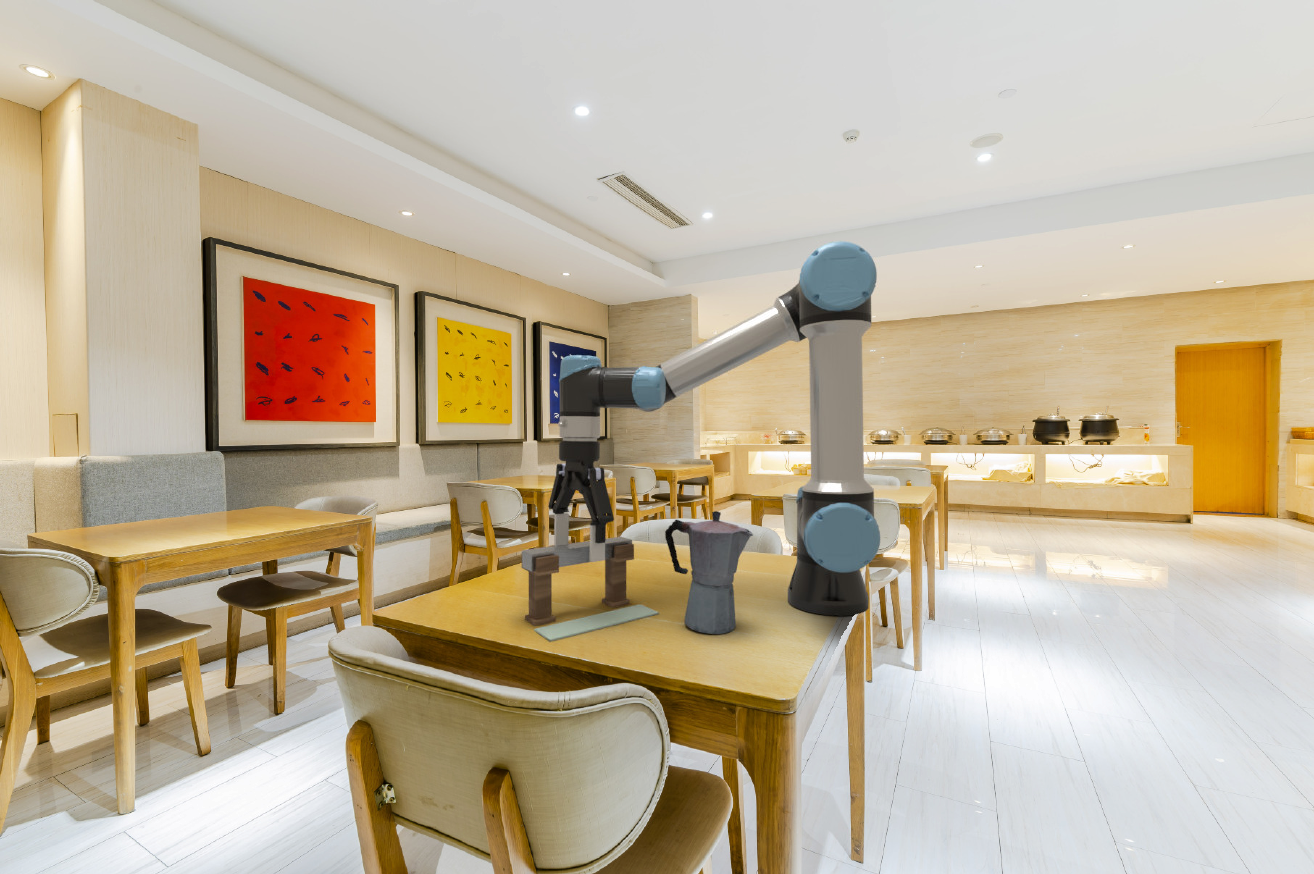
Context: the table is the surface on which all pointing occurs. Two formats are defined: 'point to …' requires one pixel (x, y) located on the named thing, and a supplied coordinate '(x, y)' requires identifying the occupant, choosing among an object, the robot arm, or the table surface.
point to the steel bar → (570, 552)
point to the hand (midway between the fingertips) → (578, 553)
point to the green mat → (594, 622)
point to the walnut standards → (550, 564)
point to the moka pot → (710, 571)
